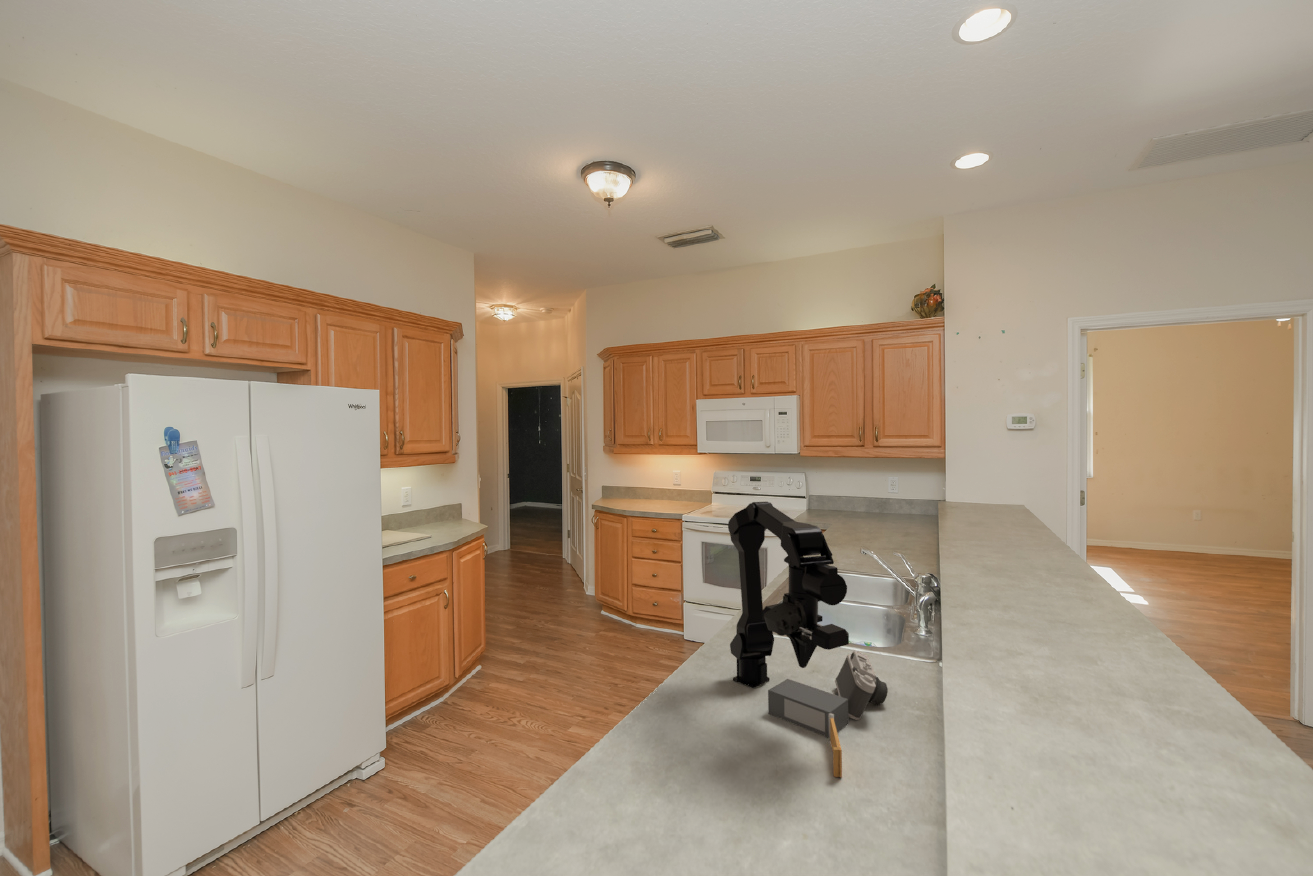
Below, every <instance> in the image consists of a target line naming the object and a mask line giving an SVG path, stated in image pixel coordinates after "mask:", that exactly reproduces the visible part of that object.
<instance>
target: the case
mask: <svg viewBox="0 0 1313 876" xmlns="http://www.w3.org/2000/svg"><path fill="white" fill-rule="evenodd" d="M767 693H768V694H767V697H768V698H767V701H768V702H767V703H768V704H767V705H768V706H767V709H768V710H767V713H768V715H771V716H772V717H775V718H778V719H781V720H784V721H786V722H788V723H790V724H793V725H795V726H799V727H801V728H803V729H805V730H808V731H810V732H813V733H815V734H818V735H820V736H822V737H825V738H828V741H829V742H830V718H834V722H835V726H836V730H837V734H839V732H840V731H842V730H843V729H844V728H845V727H846V726H848V725H849V716H848V699H846V698H843V697H840V696H839V695H838V694H835V693H831V692H827V691H825V690H822V689H819V688H816V687H813V686H811V685H808V684H805V683H801V682H799V681H796V680H792V679H789V678H785V680H783V681H781V682H780V683H777V684H776V685H774V686H772V687H771V688H769V689H768V690H767Z"/></svg>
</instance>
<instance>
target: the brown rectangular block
mask: <svg viewBox="0 0 1313 876" xmlns="http://www.w3.org/2000/svg"><path fill="white" fill-rule="evenodd" d="M829 743H830V746H831V751H832V755H833V757H832V759H833V760H832V761H833V763H832V766H833V767H832V769H833V771H832V772H833V777H836V778H842V777H843V761H842V760H843V753H842V752H843V751H842V750H843V749H842V746H841V743H840V738H839V733H837V730H836V726H835V722H834V718H830V741H829Z"/></svg>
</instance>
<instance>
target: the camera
mask: <svg viewBox="0 0 1313 876" xmlns="http://www.w3.org/2000/svg"><path fill="white" fill-rule="evenodd" d="M845 657H846V658H845V660H844V662H843V664H842V667H841V669H840V671H839V672H838V675H837V676H836V678H835V680H834V683H835V686H836V690H837V696H840V697H843V698H846V699H848V718H851V719H853V720H856V721H859V720H861V718H862V716H863V714H864V712H865V709H866V708H867V706H868V704H870V703H871V704H872V703H873V704H875V705H876V706H880V705H882V704H883V703H884V702H885V700H886V699H887V696H888V692H889V691H888V690H889V688H888V685H887V683H886V682H885V681H882V680H880V678H879V677H877V674H876V672H875V670H874V668H873V665H872V663H871V661H870V658H869V656H868V655H866V654H864V653H862V652H861V651H859V650H853V651H852V653H848V654H847V655H846V656H845Z"/></svg>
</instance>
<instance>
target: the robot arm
mask: <svg viewBox="0 0 1313 876" xmlns="http://www.w3.org/2000/svg"><path fill="white" fill-rule="evenodd" d="M727 528H728V531H729V532H728V533H729V534H730V535H729V536H730V542H731V543H732V544H733V546H734V547H735V549H736V551H737V553H738V562H739V563H738V566H739V583H740V596H741V609H742V610H741V612H742V613H741V614H740V617H739V619H738V620H737V623H736V634H735V635H734V637H733V639H732V640H731V642H730V644H729V648H730V654H731V655H732V656H733V657H735V658H736V676H734V677H732V681H734V682H737V683H739V684H741V685H744V686H747V687H750V688H753V689H756V688H758V687H759V686H762V685H763V684H765V683H767V682H769V681H770V677H769V676H768V663H766V662H767V661H766V659H767V658H766V657H772V653H773V648H774V642H775V637H774V633H776V634H777V635H778V636H780V637H781V636H786V637H788V639H789V640H790V643H791V645H792V648H793V652H794V653H795V657H796V660H797V663H798V666H799V667H800V668H802V669H804V668H806V667H807V666H808V664H809V662H810V660H811V658H812V656H813V654H814V653H815V651H816V649H817V647H819V648H822V649H823V650H828V651H829V650H833V649H836V648H841V647H844V646H847V645H849V644H850V643H849V642H850V641H849V640H850V639H849V638H850V635H849V632H848V631H847V629H845V628H843V627H841V626H838V625H836V624H835V623H834V624H833V623H830V624H824V625H821V624H820V623H821V622H823V615H820V614H819V602H822V603H825V604H826V605H828V606H837V605H839V604H840V603H841V602H843V600H845V597H846V595H847V591H848V585H847V582H846V581H845V578H844V577H843V576H841V575H840V574H838V573H839V572H838V567H837V566H834V565H833V564H835V563H834V562H835V561H834V559H833V553H832V550H831V548H829V546H828V542H827V540H826V538H825V536H824V535H825V534H824V533H823V531H822V530H821V528H820V527H818V526H817V525H814V524H811V523H807V522H800V521H796V520H794V519H793V518H791V517H790V516H788V515H787V514H785V513H784V512H782V511H781V510H779V508H777V507H775V506H773V503H772V502H769V501H753V502H751V503H749V504H748V505H747V506H746V507H744V508H743V509H741V510H739V511H737V512H735V513H734V514H733V515H732V516H731V517H730V519H729V520H728V523H727ZM766 530H768V531H769V532H771V533H772V534H773V535H774V536H775V537H777V538H778V539H779V540H780V547H781V548H782V550H783V551H784V552H786V554H787V556H786V557H784V558H783V562H784V563H786V564H788V592H785V593H783V596H782V602H779V603H774V604H770V605H765V607H764V604H763V591H762V578H761V576H762V575H761V565H760V550H761V547H762V546H763V544H764V541H765V537H766V536H765V535H766V533H765V531H766Z"/></svg>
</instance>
